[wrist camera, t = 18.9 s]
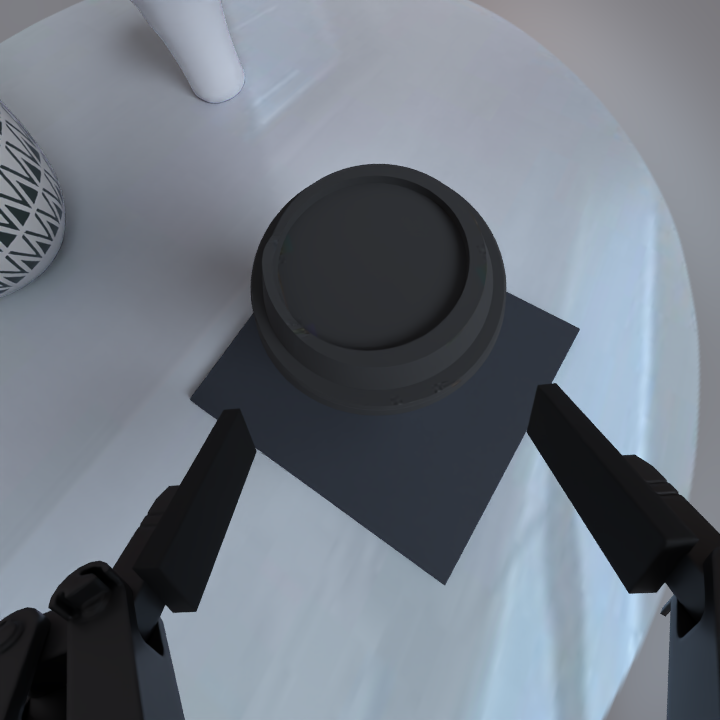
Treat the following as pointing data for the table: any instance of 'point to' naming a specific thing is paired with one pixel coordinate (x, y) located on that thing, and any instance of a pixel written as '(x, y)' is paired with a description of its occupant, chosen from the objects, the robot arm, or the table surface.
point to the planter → (26, 206)
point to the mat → (400, 436)
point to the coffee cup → (378, 290)
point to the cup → (198, 44)
